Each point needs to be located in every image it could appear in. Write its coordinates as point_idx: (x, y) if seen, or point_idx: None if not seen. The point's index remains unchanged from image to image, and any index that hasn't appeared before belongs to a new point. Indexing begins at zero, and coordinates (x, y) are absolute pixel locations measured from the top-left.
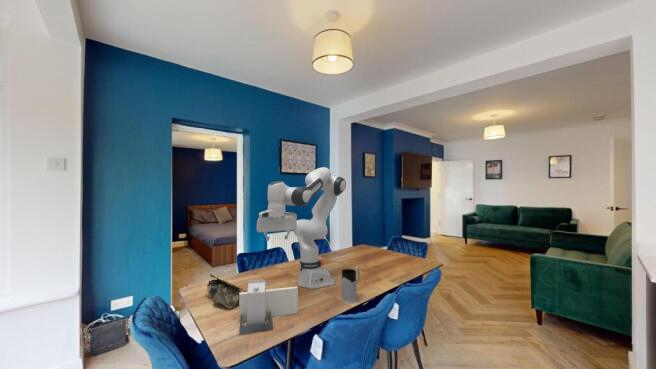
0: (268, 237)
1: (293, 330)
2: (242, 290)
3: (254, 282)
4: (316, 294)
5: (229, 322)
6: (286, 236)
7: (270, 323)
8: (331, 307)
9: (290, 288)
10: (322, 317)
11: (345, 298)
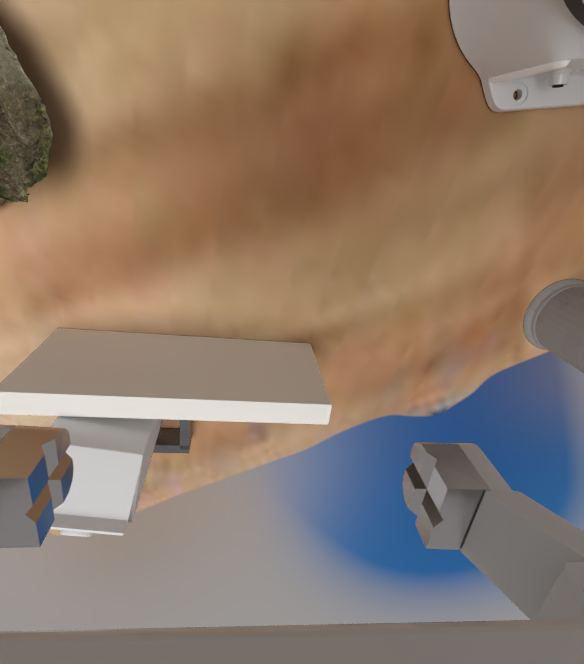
0: (22, 544)
1: (259, 456)
2: (8, 201)
3: (57, 517)
4: (471, 198)
5: (16, 337)
6: (450, 541)
7: (180, 451)
8: (452, 356)
9: (290, 420)
10: (381, 413)
11: (540, 341)
